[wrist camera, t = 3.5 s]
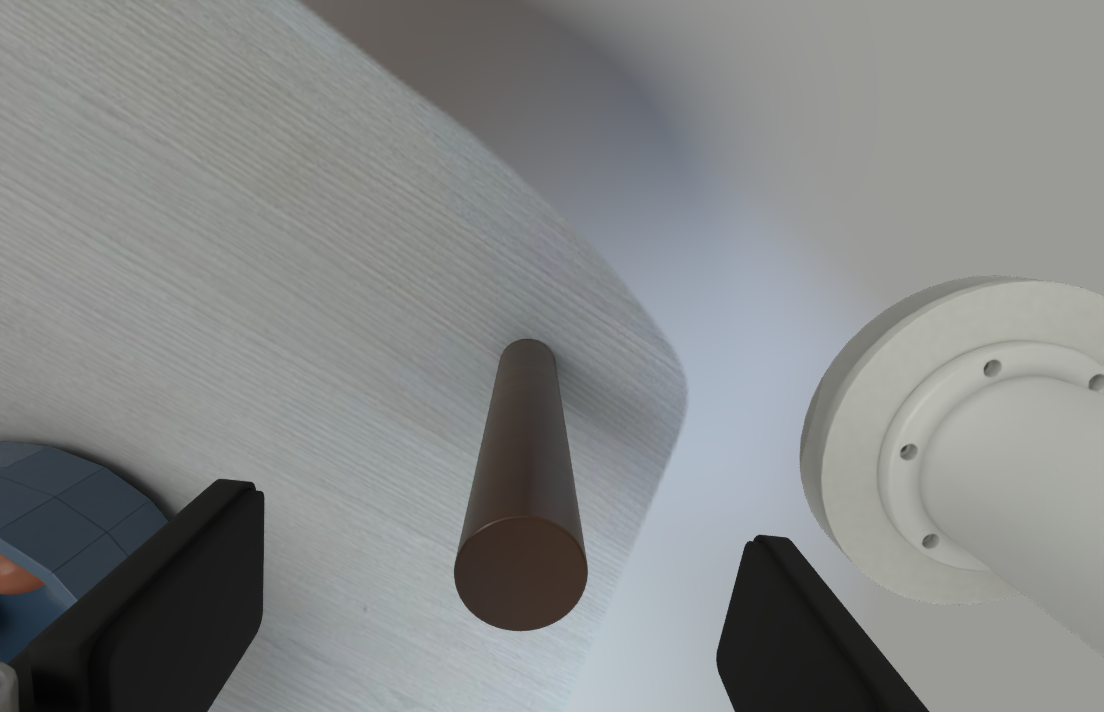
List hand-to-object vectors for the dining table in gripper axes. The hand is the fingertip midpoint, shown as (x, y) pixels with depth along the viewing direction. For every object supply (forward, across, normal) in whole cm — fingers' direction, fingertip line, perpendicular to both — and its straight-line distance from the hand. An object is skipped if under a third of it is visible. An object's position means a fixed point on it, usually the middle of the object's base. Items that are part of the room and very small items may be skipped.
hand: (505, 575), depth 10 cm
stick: (+15, 0, 0) cm, 15 cm away
